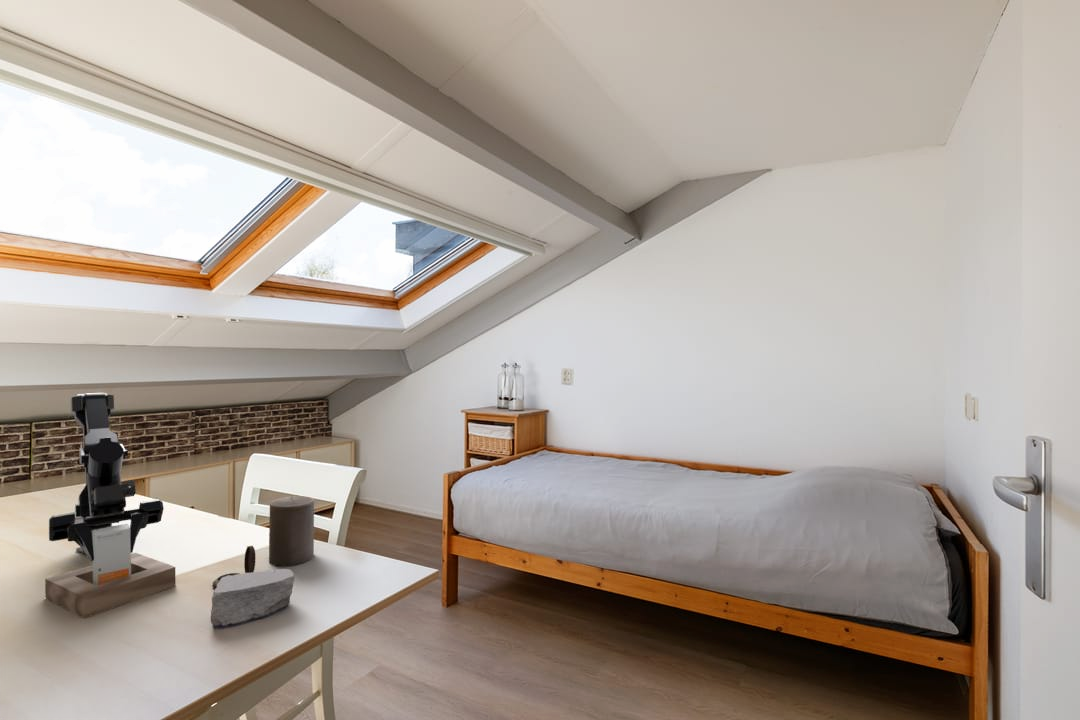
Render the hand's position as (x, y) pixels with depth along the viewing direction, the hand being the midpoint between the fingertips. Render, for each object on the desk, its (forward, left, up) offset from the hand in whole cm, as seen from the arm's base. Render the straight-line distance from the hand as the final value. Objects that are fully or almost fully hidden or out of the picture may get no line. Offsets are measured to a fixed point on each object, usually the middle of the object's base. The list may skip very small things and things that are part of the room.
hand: (112, 555), depth 113 cm
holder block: (-1, 0, -8) cm, 8 cm away
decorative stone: (+31, +9, -8) cm, 34 cm away
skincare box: (-1, +1, -7) cm, 7 cm away
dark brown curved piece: (+17, +15, -8) cm, 24 cm away
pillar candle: (+15, +30, -8) cm, 35 cm away
